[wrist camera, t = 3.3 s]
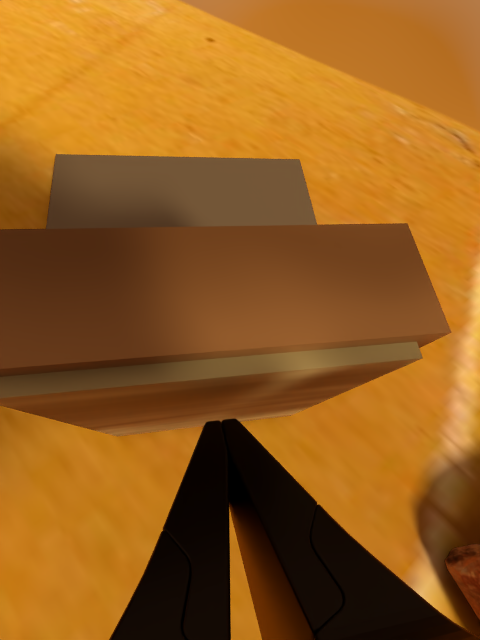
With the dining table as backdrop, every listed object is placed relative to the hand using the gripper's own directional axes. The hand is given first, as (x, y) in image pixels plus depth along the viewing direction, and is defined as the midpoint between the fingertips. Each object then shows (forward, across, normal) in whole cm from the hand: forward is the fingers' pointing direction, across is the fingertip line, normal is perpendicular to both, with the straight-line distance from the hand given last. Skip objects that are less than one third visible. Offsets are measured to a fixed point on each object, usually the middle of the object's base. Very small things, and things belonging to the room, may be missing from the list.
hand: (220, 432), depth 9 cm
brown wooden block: (+8, 0, +4) cm, 9 cm away
